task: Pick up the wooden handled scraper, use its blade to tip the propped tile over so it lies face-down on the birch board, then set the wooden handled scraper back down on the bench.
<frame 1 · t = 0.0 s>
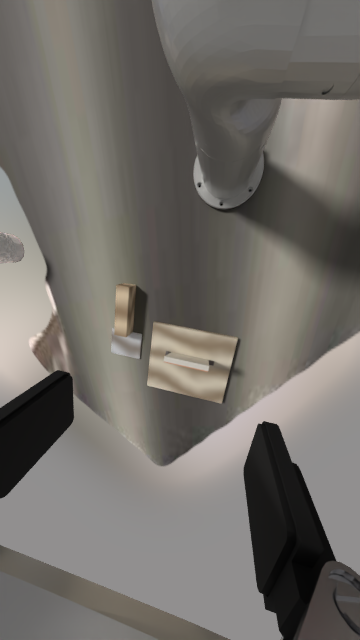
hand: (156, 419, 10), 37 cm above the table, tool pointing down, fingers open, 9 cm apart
board: (189, 362, 49), on the table
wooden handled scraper: (128, 308, 49), on the table
tile: (187, 360, 43), point 6 cm above the table, hinge at 70.0°
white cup: (14, 248, 50), on the table
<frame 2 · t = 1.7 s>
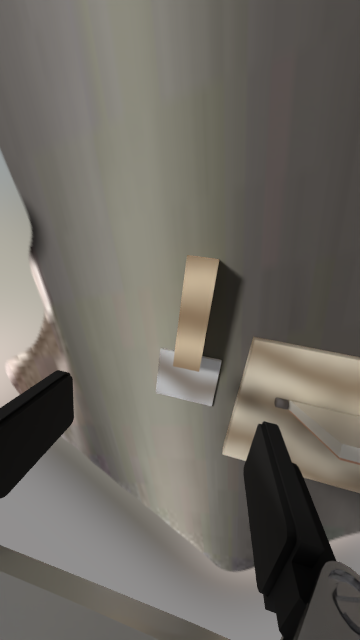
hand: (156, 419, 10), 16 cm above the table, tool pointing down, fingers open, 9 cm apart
board: (316, 417, 25), on the table
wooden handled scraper: (197, 309, 24), on the table
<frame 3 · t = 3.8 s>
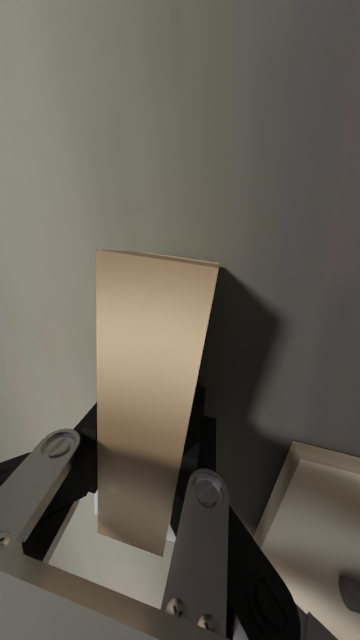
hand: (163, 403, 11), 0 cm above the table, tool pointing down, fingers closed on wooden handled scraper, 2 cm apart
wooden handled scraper: (167, 376, 10), on the table, touching gripper
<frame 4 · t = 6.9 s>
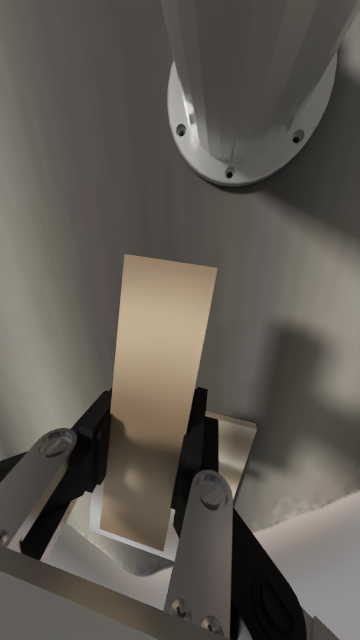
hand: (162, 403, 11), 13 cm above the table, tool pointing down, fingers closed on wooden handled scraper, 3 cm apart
board: (172, 452, 30), on the table
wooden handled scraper: (170, 375, 11), point 12 cm above the table, tilted 6°, touching gripper
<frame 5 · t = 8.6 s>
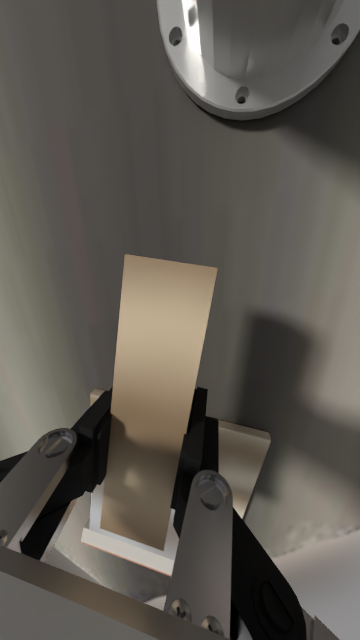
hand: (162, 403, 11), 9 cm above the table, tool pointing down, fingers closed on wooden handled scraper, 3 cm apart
board: (167, 465, 25), on the table
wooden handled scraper: (170, 375, 11), point 8 cm above the table, tilted 6°, touching gripper
tile: (156, 501, 18), point 6 cm above the table, hinge at 70.0°
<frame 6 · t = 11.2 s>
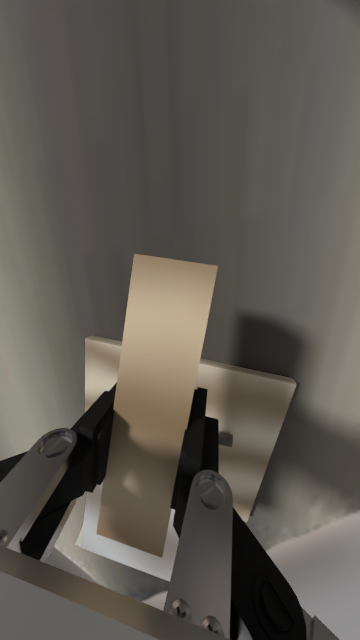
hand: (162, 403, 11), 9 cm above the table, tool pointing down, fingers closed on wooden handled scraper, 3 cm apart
board: (172, 428, 22), on the table
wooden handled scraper: (170, 377, 12), point 7 cm above the table, tilted 9°, touching gripper, tile
tile: (158, 482, 16), point 6 cm above the table, hinge at 119.5°, touching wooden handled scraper
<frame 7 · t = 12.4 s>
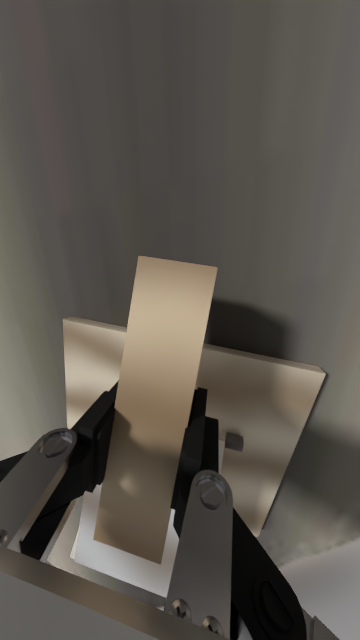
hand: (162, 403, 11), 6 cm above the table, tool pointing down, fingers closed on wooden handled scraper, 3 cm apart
board: (170, 427, 18), on the table
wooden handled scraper: (170, 379, 12), point 4 cm above the table, tilted 13°, touching gripper, tile
tile: (154, 491, 15), point 4 cm above the table, hinge at 142.2°, touching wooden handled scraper
when the fingers open (2 cm above the table, at t = 19.1 s): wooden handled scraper drops 1 cm, on the table.
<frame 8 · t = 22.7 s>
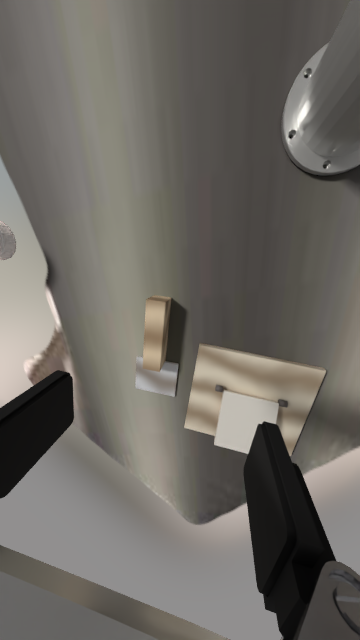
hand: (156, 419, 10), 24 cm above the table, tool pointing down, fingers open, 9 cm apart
board: (246, 399, 35), on the table
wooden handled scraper: (160, 329, 35), on the table
tile: (245, 422, 33), point 3 cm above the table, hinge at 158.5°
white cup: (2, 240, 36), on the table
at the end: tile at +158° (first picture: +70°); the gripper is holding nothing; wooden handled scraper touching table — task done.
